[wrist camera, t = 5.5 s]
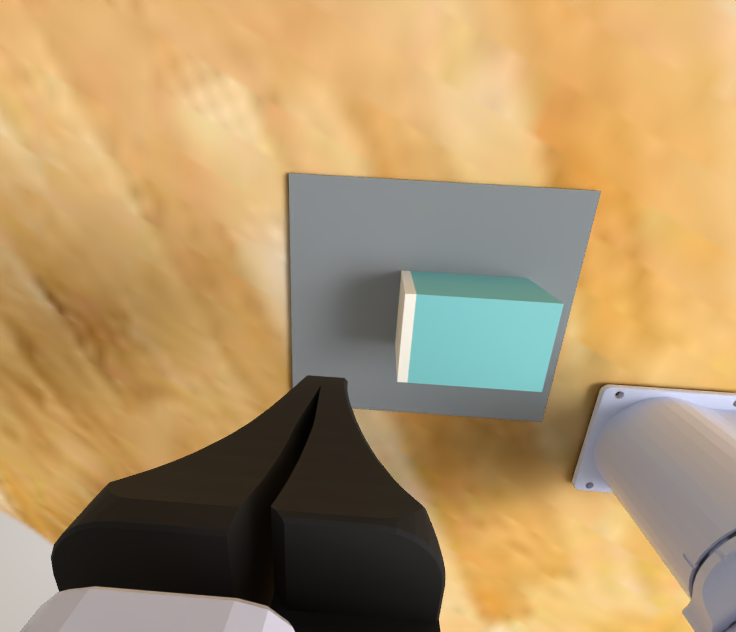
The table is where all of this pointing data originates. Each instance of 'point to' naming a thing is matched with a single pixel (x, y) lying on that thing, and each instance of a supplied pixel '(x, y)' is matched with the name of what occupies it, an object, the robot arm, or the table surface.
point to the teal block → (474, 331)
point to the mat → (424, 254)
